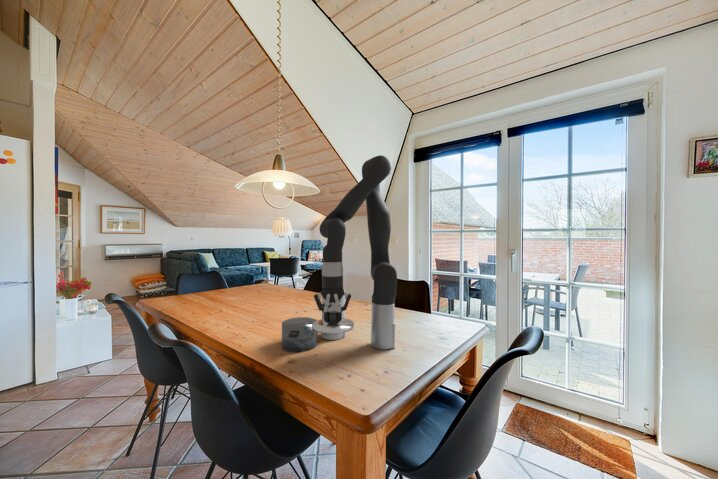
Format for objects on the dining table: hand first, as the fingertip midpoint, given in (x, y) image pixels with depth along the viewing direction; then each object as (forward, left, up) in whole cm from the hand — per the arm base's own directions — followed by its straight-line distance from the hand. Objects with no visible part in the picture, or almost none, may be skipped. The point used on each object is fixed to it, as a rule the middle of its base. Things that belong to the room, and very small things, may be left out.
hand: (333, 321), depth 100 cm
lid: (0, 0, -2) cm, 2 cm away
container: (+2, -21, -13) cm, 25 cm away
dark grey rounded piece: (+14, -10, -13) cm, 22 cm away
